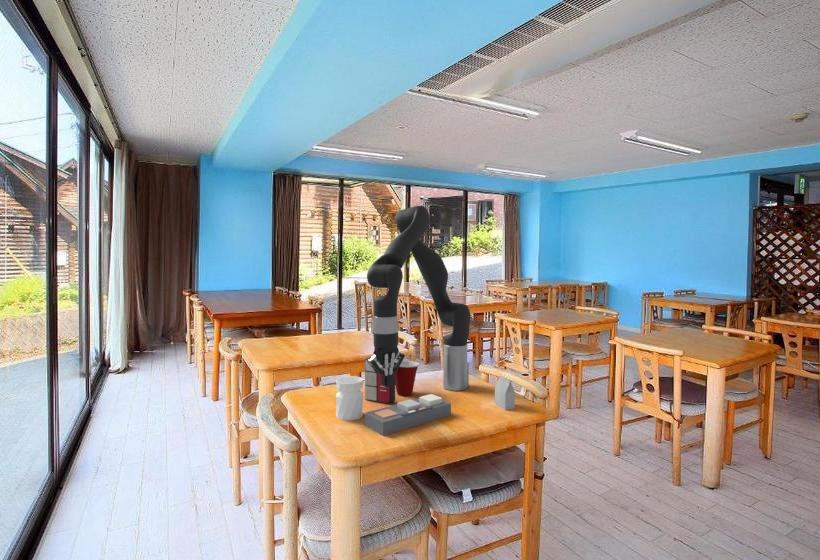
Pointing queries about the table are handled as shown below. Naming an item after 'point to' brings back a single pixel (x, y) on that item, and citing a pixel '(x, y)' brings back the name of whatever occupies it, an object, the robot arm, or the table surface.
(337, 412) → the vase
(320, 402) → the table surface
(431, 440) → the table surface
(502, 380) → the pale grey block
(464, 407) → the table surface
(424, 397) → the cream key
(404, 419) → the keypad housing
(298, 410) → the table surface
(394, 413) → the terracotta key
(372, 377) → the red and grey box
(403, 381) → the plastic cup
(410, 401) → the grey key
